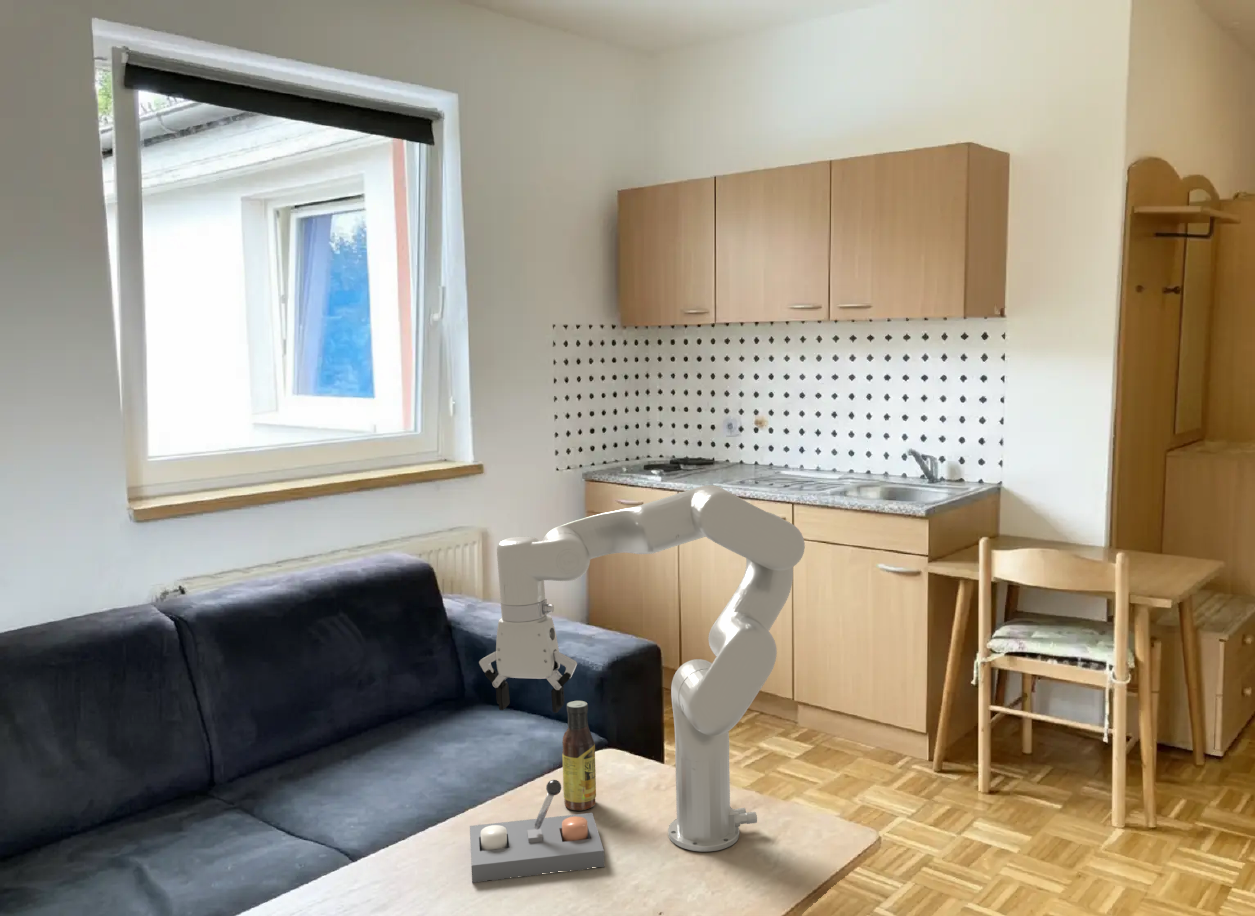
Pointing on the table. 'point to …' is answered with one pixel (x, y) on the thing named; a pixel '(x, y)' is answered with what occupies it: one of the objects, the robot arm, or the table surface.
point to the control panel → (535, 850)
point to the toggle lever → (547, 801)
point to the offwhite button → (493, 837)
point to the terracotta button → (574, 829)
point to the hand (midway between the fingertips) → (530, 708)
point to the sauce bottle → (578, 759)
